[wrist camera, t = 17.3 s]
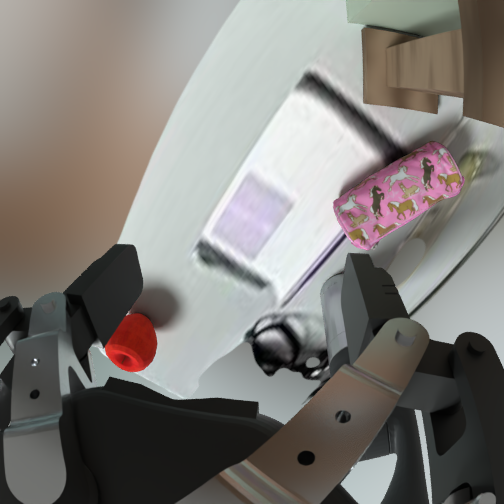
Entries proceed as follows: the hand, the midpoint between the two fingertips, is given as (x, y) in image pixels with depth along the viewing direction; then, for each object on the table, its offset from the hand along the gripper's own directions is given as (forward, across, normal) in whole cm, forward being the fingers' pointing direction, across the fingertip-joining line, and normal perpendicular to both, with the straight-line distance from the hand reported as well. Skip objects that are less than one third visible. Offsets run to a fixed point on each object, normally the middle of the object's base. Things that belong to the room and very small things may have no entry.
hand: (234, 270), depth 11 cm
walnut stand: (+37, -19, -13) cm, 43 cm away
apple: (+37, +30, +38) cm, 62 cm away
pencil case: (+38, -19, +6) cm, 43 cm away
